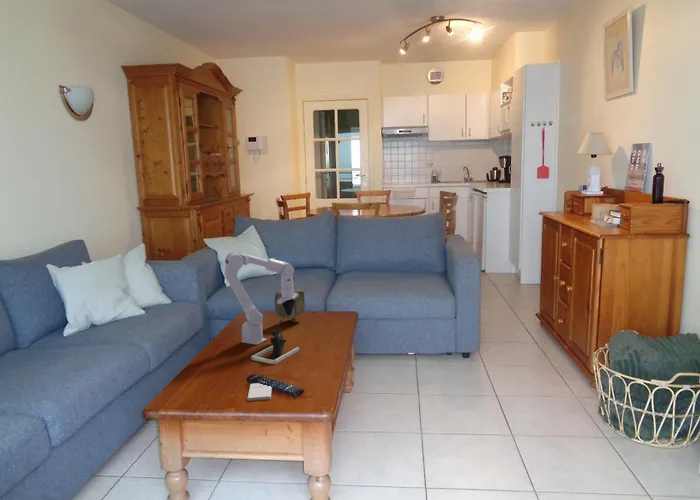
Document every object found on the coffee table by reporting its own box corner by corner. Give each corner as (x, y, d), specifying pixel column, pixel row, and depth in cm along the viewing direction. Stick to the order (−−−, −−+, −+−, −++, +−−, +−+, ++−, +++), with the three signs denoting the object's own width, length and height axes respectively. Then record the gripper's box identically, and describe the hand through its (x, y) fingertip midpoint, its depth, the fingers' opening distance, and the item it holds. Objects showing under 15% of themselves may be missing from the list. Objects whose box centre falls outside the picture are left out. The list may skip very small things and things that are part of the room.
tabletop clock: (294, 317, 283) (292, 272, 279) (307, 319, 278) (304, 274, 274) (275, 324, 272) (273, 277, 268) (288, 327, 266) (286, 279, 262)
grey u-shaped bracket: (251, 359, 223) (251, 356, 223) (276, 346, 238) (276, 343, 238) (274, 364, 217) (274, 361, 217) (299, 350, 232) (299, 347, 232)
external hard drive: (247, 402, 184) (250, 387, 196) (270, 400, 185) (272, 385, 197) (247, 398, 184) (250, 383, 196) (270, 396, 185) (272, 381, 197)
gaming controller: (284, 360, 221) (283, 338, 220) (270, 361, 221) (269, 338, 220) (287, 348, 235) (286, 327, 234) (274, 349, 235) (272, 328, 234)
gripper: (285, 291, 241) (286, 319, 244) (302, 285, 254) (304, 311, 256) (273, 290, 245) (274, 318, 247) (291, 283, 257) (292, 310, 260)
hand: (288, 314), depth 252 cm, fingers closed
